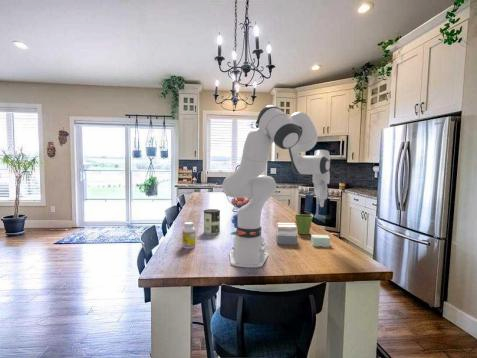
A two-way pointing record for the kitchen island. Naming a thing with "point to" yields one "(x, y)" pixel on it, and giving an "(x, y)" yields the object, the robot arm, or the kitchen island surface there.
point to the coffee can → (211, 221)
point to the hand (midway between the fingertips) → (320, 205)
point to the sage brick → (320, 240)
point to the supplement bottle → (188, 236)
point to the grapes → (235, 220)
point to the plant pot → (303, 223)
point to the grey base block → (286, 239)
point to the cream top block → (286, 229)
